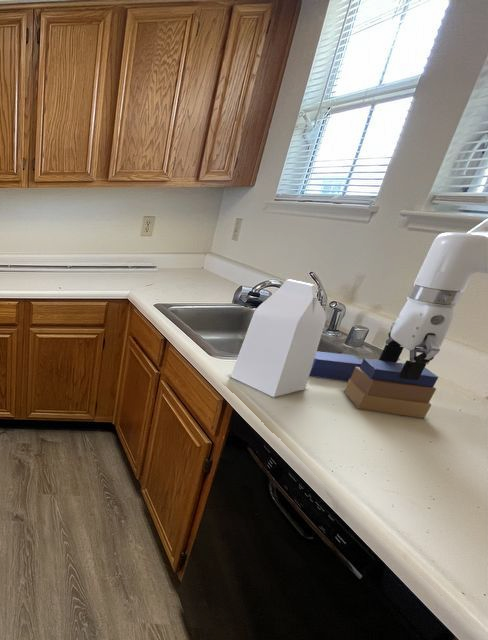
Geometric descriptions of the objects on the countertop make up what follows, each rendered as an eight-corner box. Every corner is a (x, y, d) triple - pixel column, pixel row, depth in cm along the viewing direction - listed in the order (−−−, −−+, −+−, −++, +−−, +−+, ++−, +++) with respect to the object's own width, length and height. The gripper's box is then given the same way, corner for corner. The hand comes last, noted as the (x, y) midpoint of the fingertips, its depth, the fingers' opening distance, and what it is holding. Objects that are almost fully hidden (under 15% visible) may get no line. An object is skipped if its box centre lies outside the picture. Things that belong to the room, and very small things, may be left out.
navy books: (349, 372, 113) (356, 355, 111) (359, 383, 107) (367, 365, 105) (300, 365, 117) (306, 349, 115) (308, 376, 111) (314, 358, 109)
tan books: (403, 399, 100) (417, 373, 97) (424, 418, 92) (439, 390, 89) (343, 390, 103) (354, 365, 100) (357, 408, 96) (370, 381, 93)
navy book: (417, 375, 96) (422, 365, 94) (433, 387, 90) (438, 377, 89) (359, 367, 99) (363, 358, 98) (371, 379, 94) (375, 369, 92)
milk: (230, 376, 110) (259, 278, 99) (260, 369, 114) (291, 275, 103) (273, 397, 100) (311, 290, 89) (305, 388, 104) (344, 286, 93)
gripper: (484, 308, 78) (439, 389, 85) (433, 287, 92) (399, 358, 100) (434, 304, 80) (394, 383, 88) (392, 284, 95) (361, 353, 102)
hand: (397, 369), depth 94 cm, fingers open, 9 cm apart
